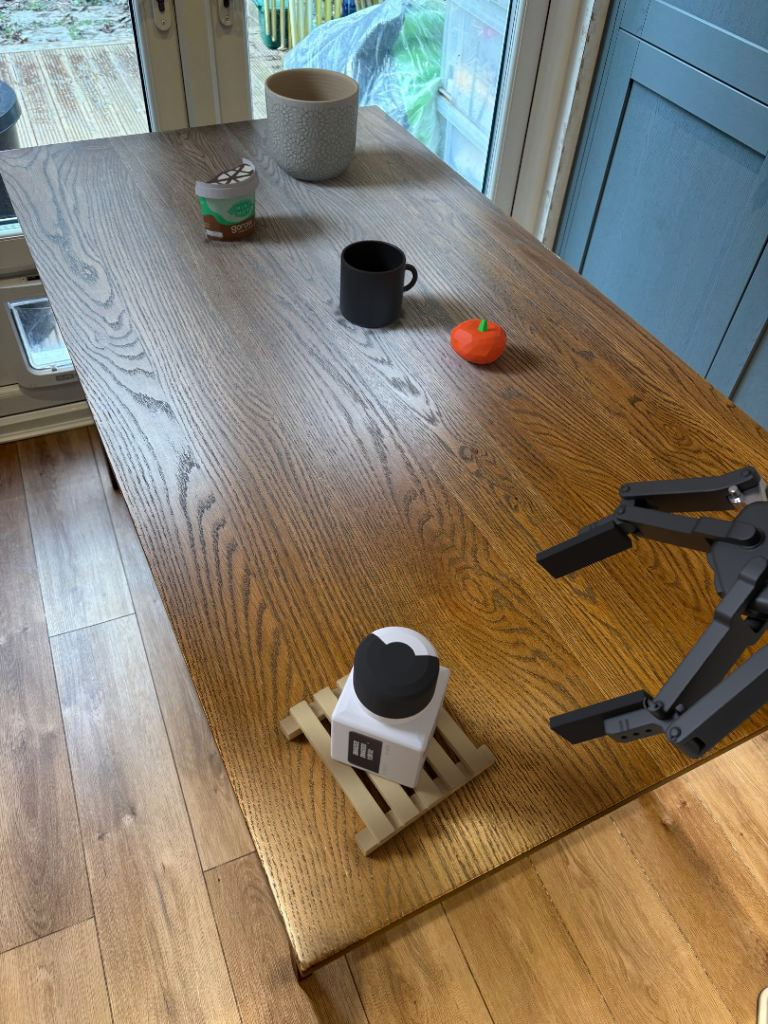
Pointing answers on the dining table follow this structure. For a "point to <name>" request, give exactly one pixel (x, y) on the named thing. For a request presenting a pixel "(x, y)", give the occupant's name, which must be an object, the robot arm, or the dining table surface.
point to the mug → (373, 282)
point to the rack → (401, 805)
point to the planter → (312, 121)
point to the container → (390, 705)
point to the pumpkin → (478, 340)
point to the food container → (229, 203)
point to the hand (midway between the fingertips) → (552, 642)
